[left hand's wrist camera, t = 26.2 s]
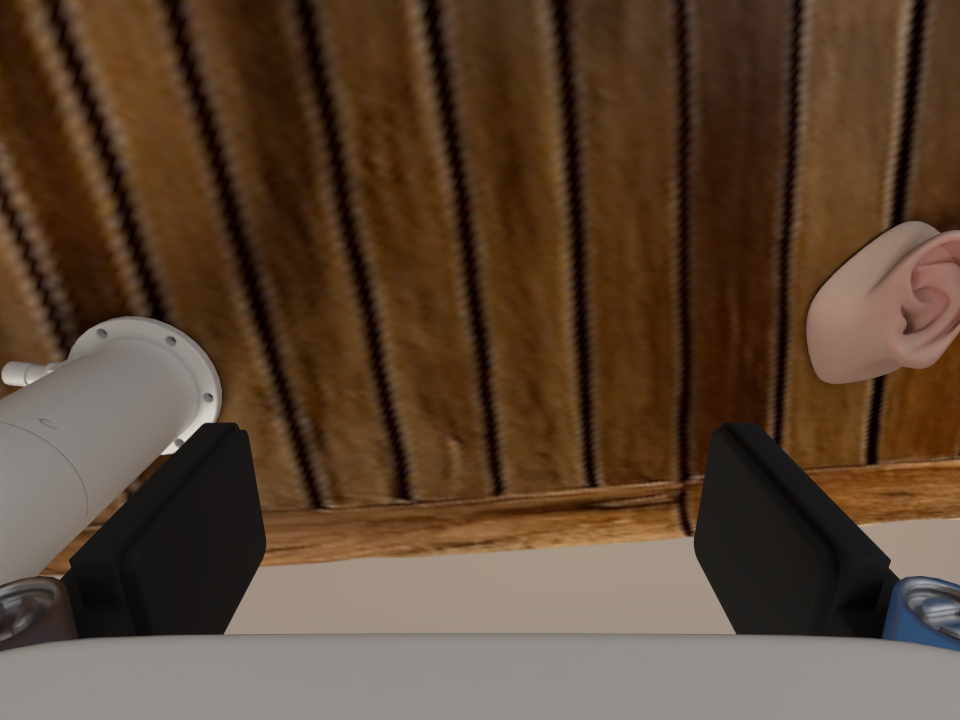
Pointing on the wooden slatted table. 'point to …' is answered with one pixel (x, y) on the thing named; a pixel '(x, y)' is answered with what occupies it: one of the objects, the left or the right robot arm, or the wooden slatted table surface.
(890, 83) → the wooden slatted table surface
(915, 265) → the anatomical model
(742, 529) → the left robot arm
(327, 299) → the wooden slatted table surface
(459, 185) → the wooden slatted table surface
